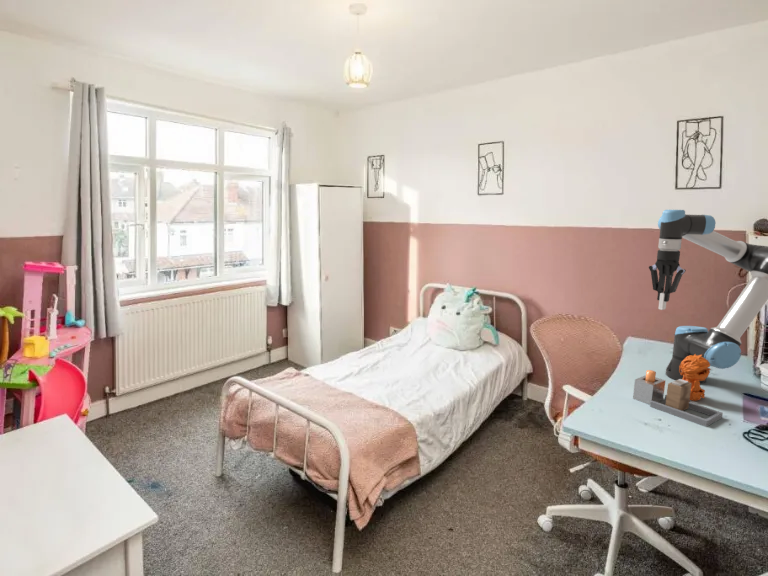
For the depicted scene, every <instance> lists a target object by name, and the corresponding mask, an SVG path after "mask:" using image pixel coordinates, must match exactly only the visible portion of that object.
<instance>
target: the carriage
mask: <svg viewBox="0 0 768 576" xmlns="http://www.w3.org/2000/svg"><path fill="white" fill-rule="evenodd" d="M691 385H692V383H690V382H688V381H685V380H682V379H678V380H673V381H671V382H669V383H667V389H666V395H667V396H666V400H665V404H664V405H667V406H669V407H672V408H675V409H678V410H681V411H684V412H685V411H687V410H688V409H689V408H688V407H689V402H690V401H691V400H690V393H691Z"/></svg>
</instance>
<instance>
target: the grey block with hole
mask: <svg viewBox="0 0 768 576" xmlns="http://www.w3.org/2000/svg"><path fill="white" fill-rule="evenodd" d="M645 379H646V374H645V375H643V376H641V377H637V378H635V379H634V385H633V394H632V399H633V400H635V399H636V401H639V402H642V403H643V404H646V405H649V406H650V403H651V401H655V402H658V403H660V402H661V401H664V397H665V388H666V387H665V386H666V379H662V378H658V377H656V376H655V382H654V383H652V382H649V381H646V380H645Z"/></svg>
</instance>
